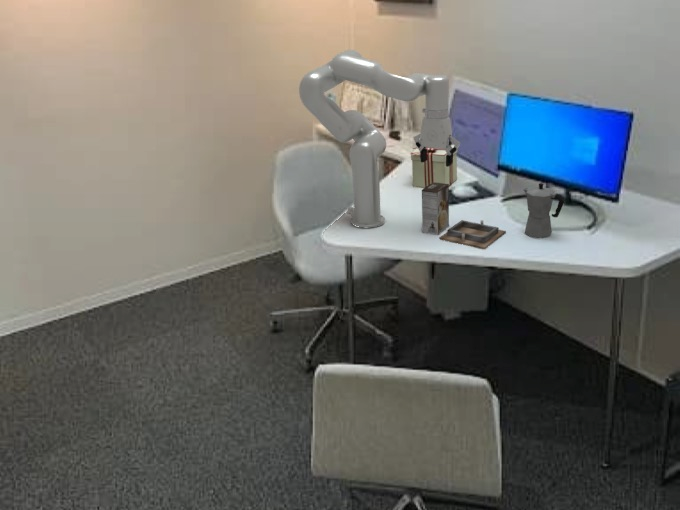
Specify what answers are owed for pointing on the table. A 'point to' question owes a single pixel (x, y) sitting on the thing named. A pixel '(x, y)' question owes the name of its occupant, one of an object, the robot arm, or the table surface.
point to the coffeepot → (541, 211)
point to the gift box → (433, 168)
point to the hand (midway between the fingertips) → (436, 163)
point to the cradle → (472, 234)
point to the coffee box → (435, 208)
